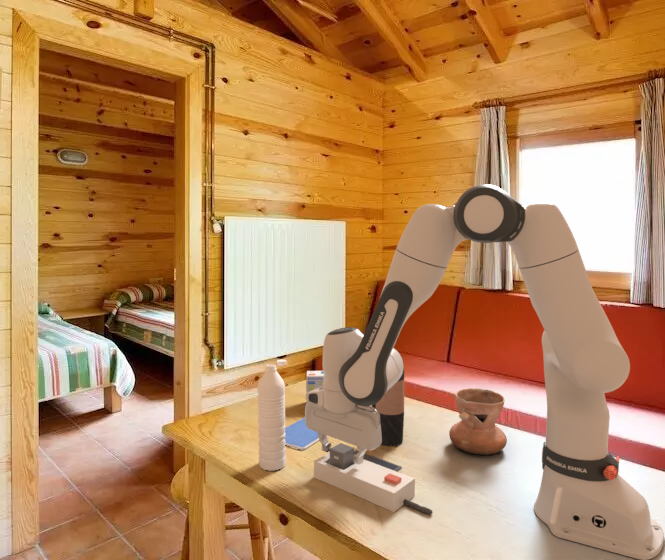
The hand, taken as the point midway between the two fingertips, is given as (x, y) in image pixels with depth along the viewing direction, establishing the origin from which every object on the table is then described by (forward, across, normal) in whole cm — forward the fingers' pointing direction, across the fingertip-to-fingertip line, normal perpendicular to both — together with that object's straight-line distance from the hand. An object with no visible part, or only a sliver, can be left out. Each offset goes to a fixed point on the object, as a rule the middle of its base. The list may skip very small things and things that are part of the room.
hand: (341, 456), depth 117 cm
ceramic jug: (+5, -17, -36) cm, 40 cm away
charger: (+4, 0, 0) cm, 4 cm away
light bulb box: (+5, +35, -33) cm, 48 cm away
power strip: (+5, -9, 0) cm, 11 cm away
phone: (+6, -1, -10) cm, 11 cm away
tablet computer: (+6, +24, -13) cm, 28 cm away
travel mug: (+5, +3, -24) cm, 25 cm away
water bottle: (+5, +17, +5) cm, 18 cm away
